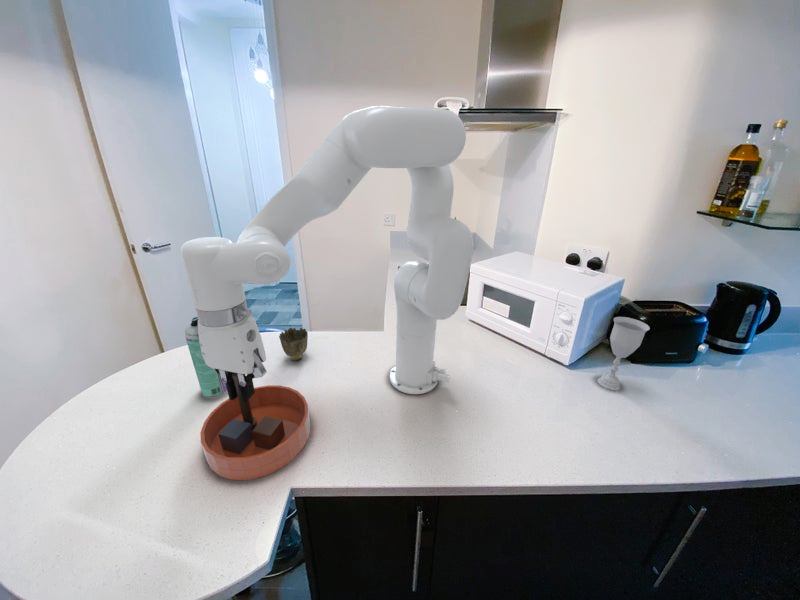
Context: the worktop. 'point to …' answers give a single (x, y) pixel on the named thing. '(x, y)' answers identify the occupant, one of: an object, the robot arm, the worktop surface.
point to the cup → (294, 342)
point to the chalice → (623, 346)
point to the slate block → (236, 436)
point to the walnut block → (268, 433)
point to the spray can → (203, 365)
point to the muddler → (244, 405)
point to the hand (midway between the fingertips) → (242, 396)
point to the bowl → (252, 458)
